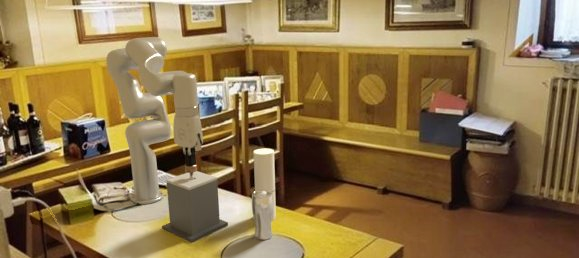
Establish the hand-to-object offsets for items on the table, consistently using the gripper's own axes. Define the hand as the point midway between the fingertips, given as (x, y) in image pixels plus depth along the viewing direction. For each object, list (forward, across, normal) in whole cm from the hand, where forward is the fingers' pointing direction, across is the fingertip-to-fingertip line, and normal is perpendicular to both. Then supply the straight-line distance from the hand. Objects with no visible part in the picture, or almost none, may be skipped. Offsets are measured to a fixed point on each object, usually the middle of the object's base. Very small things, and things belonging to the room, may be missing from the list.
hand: (191, 165), depth 160 cm
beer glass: (+23, +23, +10) cm, 34 cm away
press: (+23, 0, 0) cm, 23 cm away
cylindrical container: (+23, +14, +21) cm, 34 cm away
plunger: (+17, 0, 0) cm, 17 cm away
